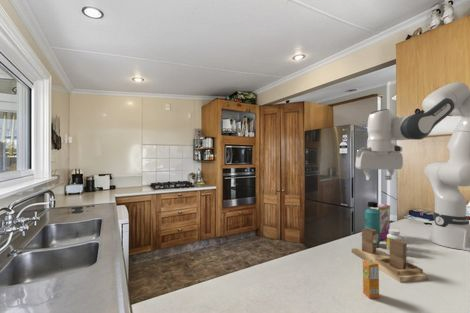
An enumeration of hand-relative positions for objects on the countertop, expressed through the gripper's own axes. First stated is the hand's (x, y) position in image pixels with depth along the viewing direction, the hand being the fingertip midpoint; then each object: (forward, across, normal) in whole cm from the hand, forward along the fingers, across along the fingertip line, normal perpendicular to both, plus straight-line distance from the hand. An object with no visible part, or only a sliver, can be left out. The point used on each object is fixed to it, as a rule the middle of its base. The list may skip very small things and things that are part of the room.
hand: (378, 180), depth 100 cm
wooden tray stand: (+31, -6, -10) cm, 33 cm away
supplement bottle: (+31, +7, -1) cm, 32 cm away
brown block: (+30, -6, -15) cm, 34 cm away
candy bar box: (+31, +15, +16) cm, 38 cm away
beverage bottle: (+31, +4, +8) cm, 33 cm away
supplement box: (+31, -26, -27) cm, 49 cm away
